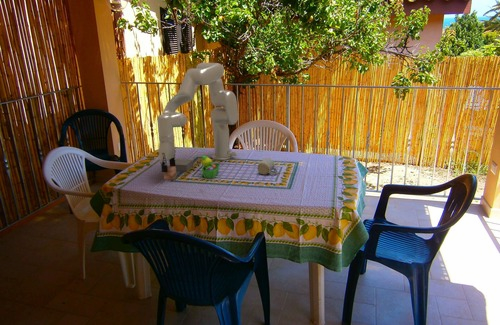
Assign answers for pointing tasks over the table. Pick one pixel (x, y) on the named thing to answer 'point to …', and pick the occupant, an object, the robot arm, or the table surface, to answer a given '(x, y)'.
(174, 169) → the terracotta block
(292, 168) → the table surface
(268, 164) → the ceramic mug
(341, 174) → the table surface
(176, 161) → the charcoal base
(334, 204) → the table surface
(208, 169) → the green bird basket
